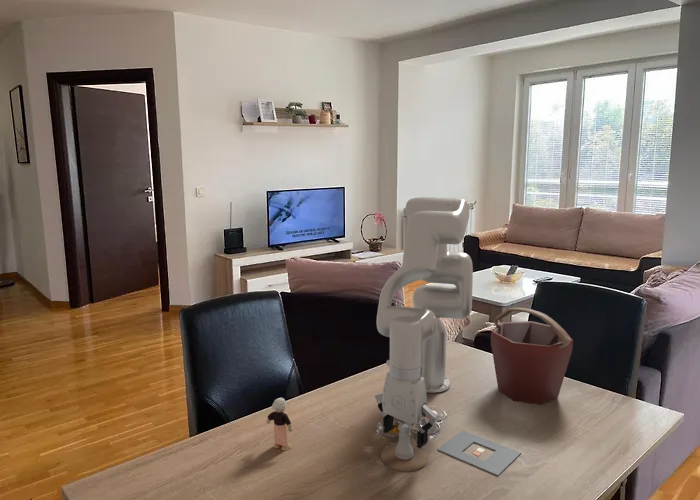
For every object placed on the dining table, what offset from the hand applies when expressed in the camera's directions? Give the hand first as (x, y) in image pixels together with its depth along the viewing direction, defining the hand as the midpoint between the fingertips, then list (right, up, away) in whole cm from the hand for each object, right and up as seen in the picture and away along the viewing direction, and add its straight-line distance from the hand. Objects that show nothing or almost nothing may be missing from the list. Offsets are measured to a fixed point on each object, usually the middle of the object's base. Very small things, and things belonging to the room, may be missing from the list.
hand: (404, 438), depth 127 cm
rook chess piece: (0, -5, +1) cm, 5 cm away
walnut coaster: (0, -5, +1) cm, 5 cm away
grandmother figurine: (-30, -4, +6) cm, 31 cm away
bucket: (+41, +2, +36) cm, 54 cm away
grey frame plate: (+18, -4, +3) cm, 19 cm away
